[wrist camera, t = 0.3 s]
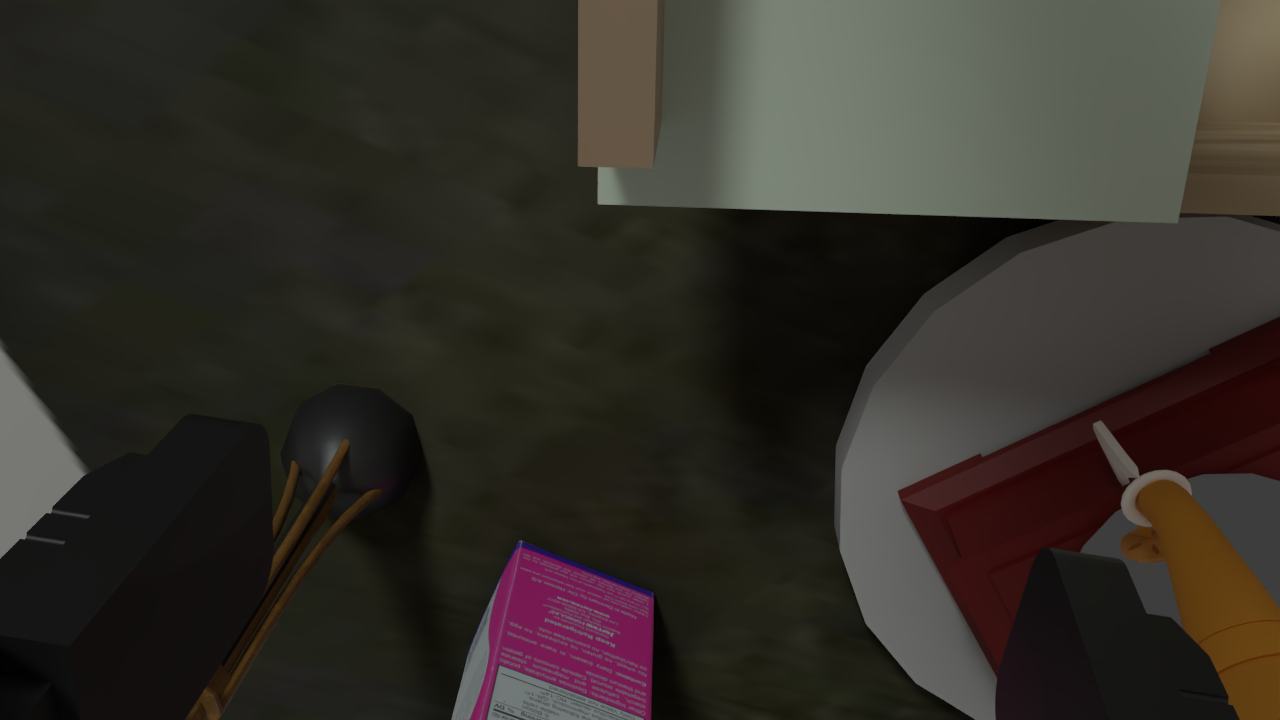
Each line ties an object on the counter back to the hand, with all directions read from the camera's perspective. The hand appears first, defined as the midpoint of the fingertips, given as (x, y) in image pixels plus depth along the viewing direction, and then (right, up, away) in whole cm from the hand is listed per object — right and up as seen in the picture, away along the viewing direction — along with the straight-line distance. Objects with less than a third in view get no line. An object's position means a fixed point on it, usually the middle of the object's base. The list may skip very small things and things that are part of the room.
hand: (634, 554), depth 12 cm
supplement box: (-3, -8, +33) cm, 34 cm away
